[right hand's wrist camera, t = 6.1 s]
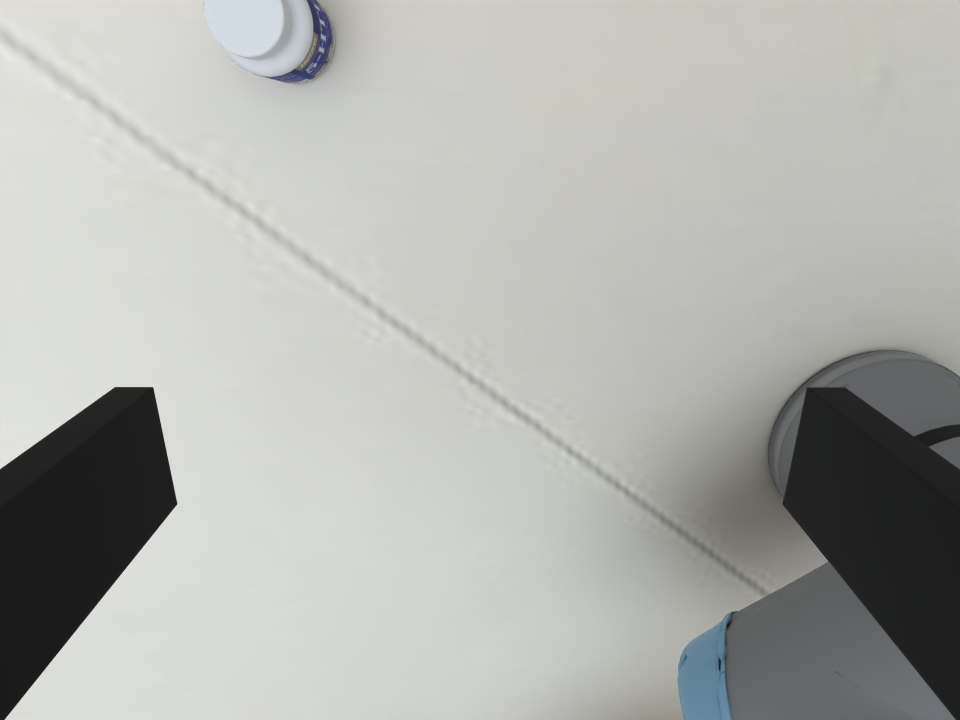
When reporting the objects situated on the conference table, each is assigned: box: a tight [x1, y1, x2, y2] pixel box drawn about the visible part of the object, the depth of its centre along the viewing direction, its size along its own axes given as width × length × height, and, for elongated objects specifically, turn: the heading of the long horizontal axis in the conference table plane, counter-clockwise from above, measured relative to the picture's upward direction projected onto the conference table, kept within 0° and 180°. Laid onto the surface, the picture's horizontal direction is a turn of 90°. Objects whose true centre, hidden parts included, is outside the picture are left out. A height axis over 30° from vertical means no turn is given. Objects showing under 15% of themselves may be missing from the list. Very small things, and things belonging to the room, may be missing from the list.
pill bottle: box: [203, 0, 335, 84], centre depth 34 cm, size 5×5×9 cm
